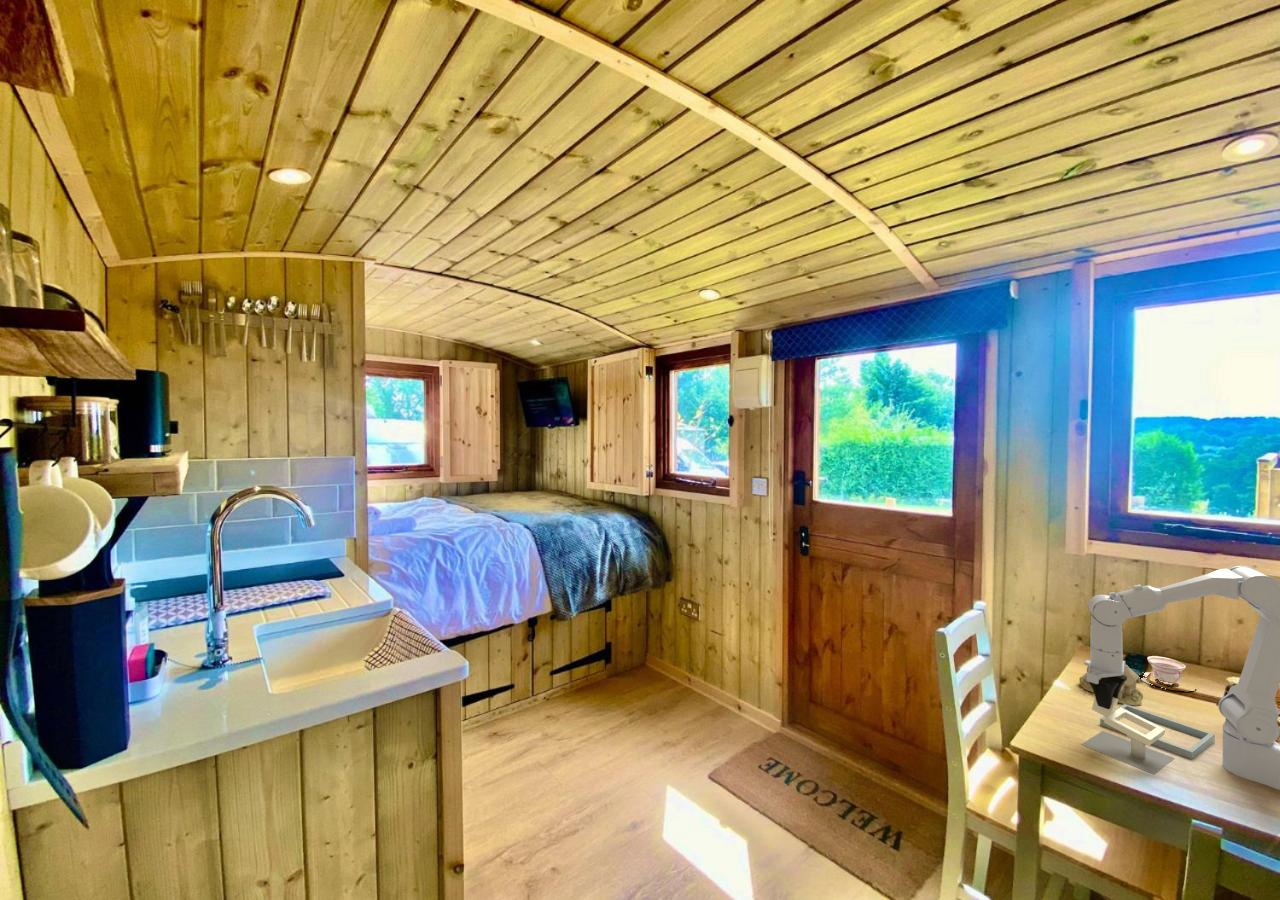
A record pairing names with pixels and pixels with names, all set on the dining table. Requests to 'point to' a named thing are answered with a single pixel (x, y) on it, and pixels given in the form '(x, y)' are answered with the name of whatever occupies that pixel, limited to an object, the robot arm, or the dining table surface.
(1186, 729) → the tray
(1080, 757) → the dining table surface
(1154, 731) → the square frame with tab
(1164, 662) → the teacup
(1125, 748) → the plate
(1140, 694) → the ceramic model
